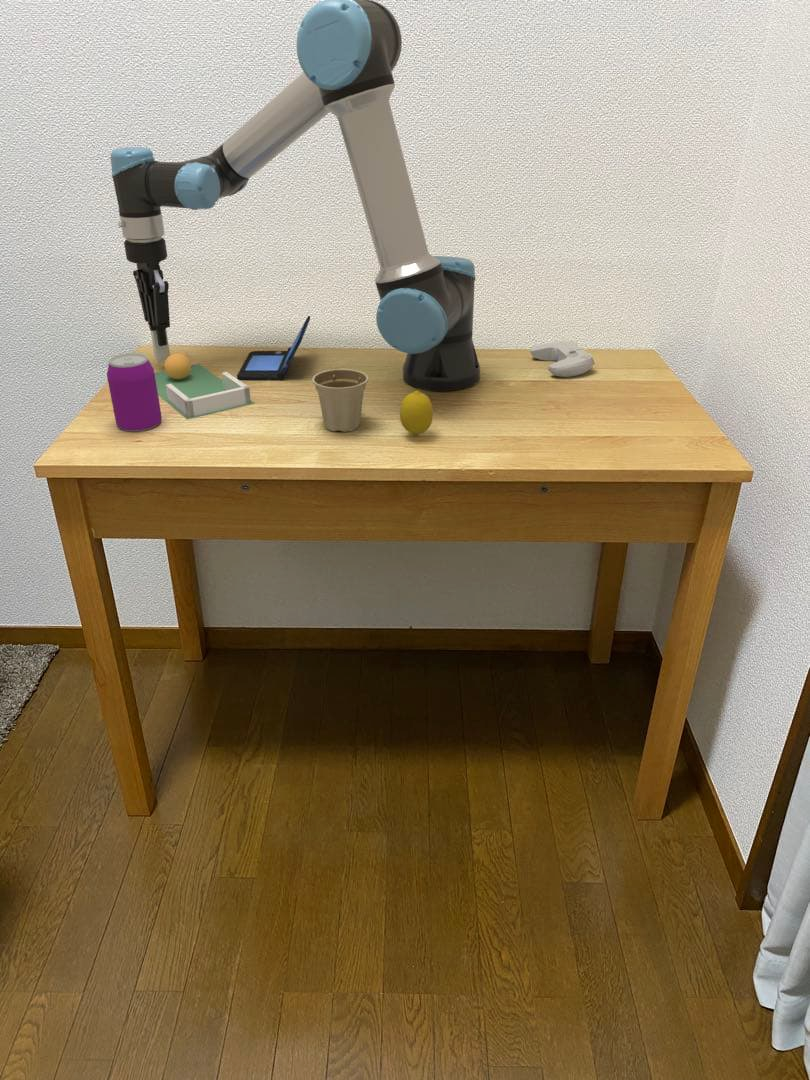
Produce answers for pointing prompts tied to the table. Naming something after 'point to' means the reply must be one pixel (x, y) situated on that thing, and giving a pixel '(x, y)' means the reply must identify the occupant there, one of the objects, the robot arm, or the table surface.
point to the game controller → (564, 358)
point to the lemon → (416, 413)
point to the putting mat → (192, 386)
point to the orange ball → (177, 366)
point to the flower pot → (341, 397)
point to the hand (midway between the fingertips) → (163, 359)
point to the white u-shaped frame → (211, 398)
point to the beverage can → (133, 392)
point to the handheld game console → (270, 362)
